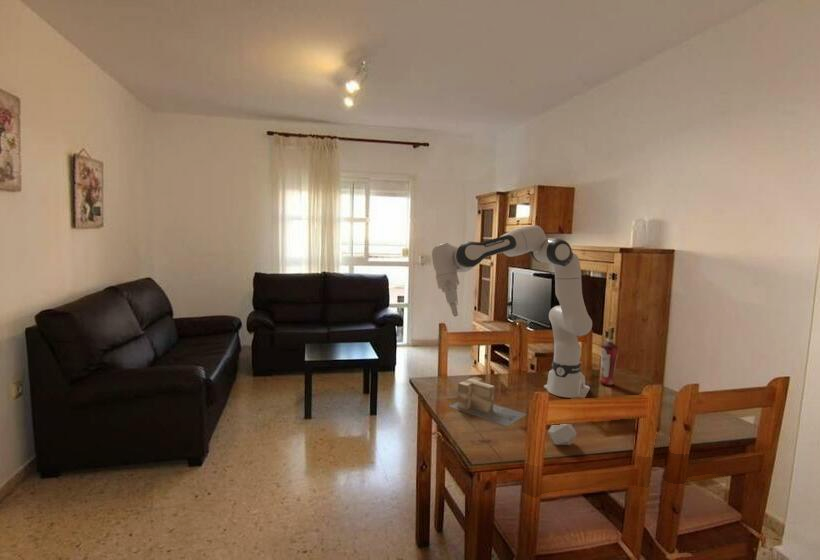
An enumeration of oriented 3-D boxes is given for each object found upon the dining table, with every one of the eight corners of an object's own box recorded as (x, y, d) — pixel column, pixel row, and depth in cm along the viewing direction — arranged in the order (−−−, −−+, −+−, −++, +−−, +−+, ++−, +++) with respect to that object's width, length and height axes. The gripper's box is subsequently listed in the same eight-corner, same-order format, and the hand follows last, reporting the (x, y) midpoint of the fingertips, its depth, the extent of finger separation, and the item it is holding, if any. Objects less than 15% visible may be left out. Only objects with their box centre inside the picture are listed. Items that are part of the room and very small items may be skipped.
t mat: (470, 396, 202) (470, 396, 202) (527, 414, 185) (527, 414, 185) (448, 406, 190) (448, 406, 190) (507, 427, 173) (507, 426, 173)
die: (570, 453, 155) (584, 428, 157) (548, 438, 156) (562, 413, 158) (562, 450, 163) (575, 426, 165) (541, 436, 164) (554, 412, 166)
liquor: (595, 382, 228) (599, 325, 225) (607, 381, 230) (612, 325, 227) (605, 387, 221) (610, 329, 218) (618, 386, 223) (623, 329, 220)
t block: (473, 399, 199) (474, 376, 197) (498, 407, 191) (499, 383, 190) (457, 407, 190) (458, 383, 188) (482, 415, 182) (483, 390, 181)
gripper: (454, 277, 180) (462, 312, 178) (456, 283, 200) (463, 315, 198) (438, 280, 181) (446, 315, 179) (442, 287, 201) (449, 318, 199)
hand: (455, 315), depth 189 cm, fingers open, 8 cm apart
